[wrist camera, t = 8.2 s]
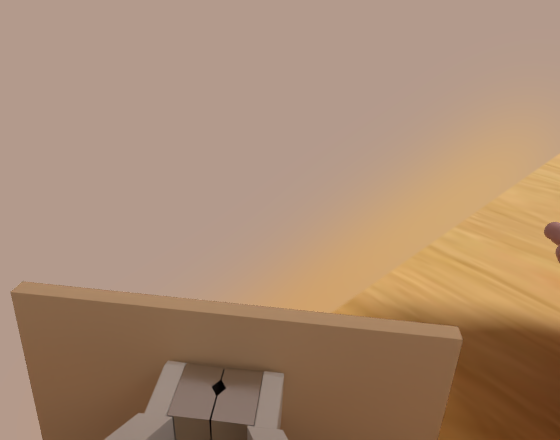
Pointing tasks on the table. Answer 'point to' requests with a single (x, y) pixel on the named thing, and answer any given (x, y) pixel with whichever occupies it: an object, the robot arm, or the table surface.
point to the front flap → (231, 361)
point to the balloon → (554, 235)
